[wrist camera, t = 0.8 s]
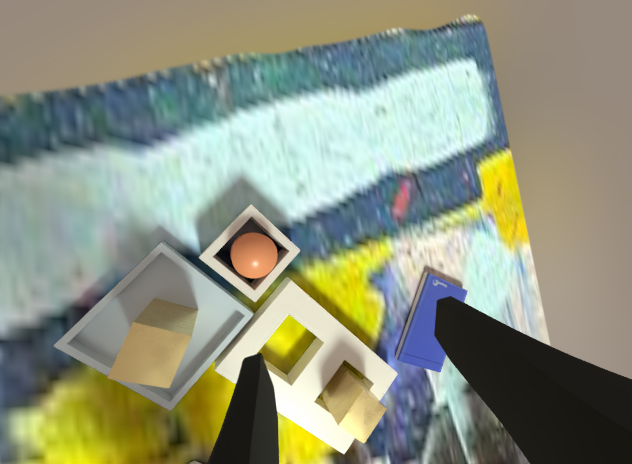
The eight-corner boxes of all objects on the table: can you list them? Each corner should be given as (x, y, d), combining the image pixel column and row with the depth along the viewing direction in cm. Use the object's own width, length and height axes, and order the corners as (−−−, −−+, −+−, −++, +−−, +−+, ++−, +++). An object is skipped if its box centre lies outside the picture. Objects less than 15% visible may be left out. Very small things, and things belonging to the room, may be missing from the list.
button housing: (251, 293, 27) (255, 302, 24) (201, 253, 25) (198, 257, 22) (292, 247, 28) (300, 250, 25) (247, 206, 26) (251, 204, 23)
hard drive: (430, 273, 34) (399, 361, 33) (469, 291, 37) (442, 373, 36) (421, 270, 36) (391, 355, 34) (459, 288, 38) (433, 367, 37)
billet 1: (181, 349, 24) (169, 388, 18) (134, 339, 23) (106, 378, 17) (198, 309, 24) (191, 335, 19) (154, 297, 23) (132, 322, 17)
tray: (173, 400, 24) (170, 411, 23) (64, 337, 21) (52, 346, 20) (252, 309, 27) (253, 314, 25) (164, 241, 24) (160, 242, 22)
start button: (252, 280, 25) (256, 287, 22) (221, 254, 24) (221, 258, 21) (279, 250, 26) (286, 253, 23) (250, 223, 25) (253, 224, 22)
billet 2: (338, 403, 31) (364, 443, 25) (316, 387, 30) (338, 425, 24) (357, 375, 32) (386, 408, 26) (337, 359, 31) (363, 390, 25)
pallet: (336, 440, 31) (344, 454, 29) (214, 359, 26) (214, 370, 24) (388, 365, 33) (397, 373, 32) (286, 276, 28) (291, 280, 26)
